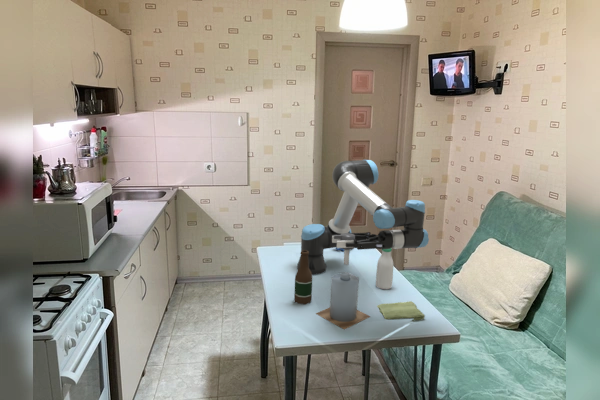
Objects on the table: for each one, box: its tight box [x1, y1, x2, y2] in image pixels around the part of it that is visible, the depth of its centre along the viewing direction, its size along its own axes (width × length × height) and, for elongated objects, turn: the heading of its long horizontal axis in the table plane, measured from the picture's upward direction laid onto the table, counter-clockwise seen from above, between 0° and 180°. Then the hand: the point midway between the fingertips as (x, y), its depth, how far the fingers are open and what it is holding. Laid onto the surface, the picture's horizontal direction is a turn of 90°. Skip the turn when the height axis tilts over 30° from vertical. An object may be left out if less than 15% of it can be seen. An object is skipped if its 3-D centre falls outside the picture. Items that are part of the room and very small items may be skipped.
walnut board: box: [315, 306, 371, 330], centre depth 174 cm, size 16×16×1 cm
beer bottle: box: [293, 250, 313, 305], centre depth 183 cm, size 8×8×24 cm
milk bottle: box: [375, 249, 394, 290], centre depth 202 cm, size 8×8×20 cm
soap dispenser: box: [329, 271, 360, 322], centre depth 172 cm, size 11×11×18 cm
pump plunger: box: [334, 232, 355, 266], centre depth 166 cm, size 6×8×12 cm
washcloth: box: [376, 300, 426, 322], centre depth 178 cm, size 13×18×3 cm
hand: (334, 241), depth 165 cm, fingers closed on pump plunger, 6 cm apart
